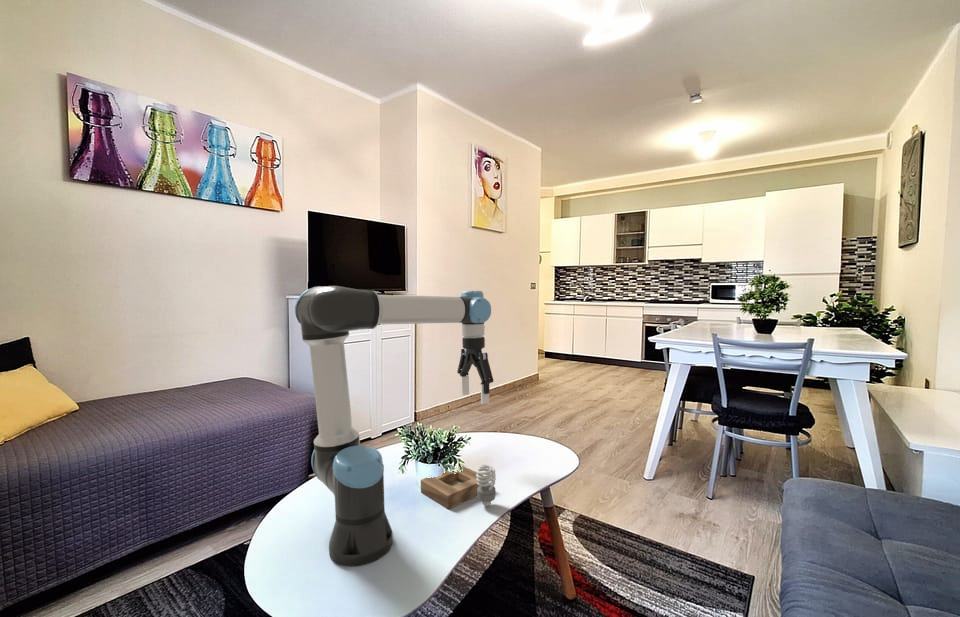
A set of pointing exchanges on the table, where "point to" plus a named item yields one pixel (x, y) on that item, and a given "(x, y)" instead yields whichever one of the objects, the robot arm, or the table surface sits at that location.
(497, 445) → the table surface
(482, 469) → the light bulb
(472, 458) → the table surface
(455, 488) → the socket board
